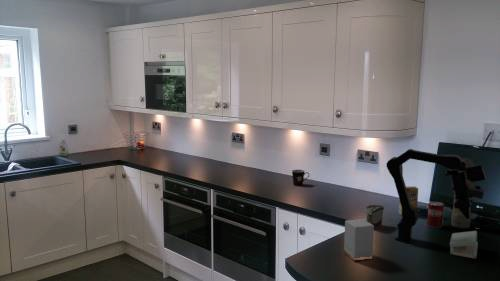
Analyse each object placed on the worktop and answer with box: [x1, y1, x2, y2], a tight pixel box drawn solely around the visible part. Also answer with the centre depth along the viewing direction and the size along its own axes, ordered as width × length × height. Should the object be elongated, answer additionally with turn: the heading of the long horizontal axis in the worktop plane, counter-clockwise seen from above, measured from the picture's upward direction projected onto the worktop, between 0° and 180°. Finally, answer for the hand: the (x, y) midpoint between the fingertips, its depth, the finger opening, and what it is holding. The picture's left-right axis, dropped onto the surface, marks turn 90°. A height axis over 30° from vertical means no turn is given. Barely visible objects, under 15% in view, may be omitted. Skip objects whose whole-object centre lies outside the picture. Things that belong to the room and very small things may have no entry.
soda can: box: [426, 201, 445, 229], centre depth 219 cm, size 7×7×12 cm
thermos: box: [450, 157, 476, 229], centre depth 218 cm, size 9×12×35 cm
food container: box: [364, 204, 385, 229], centre depth 219 cm, size 12×6×10 cm, turn 134°
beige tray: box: [449, 241, 479, 260], centre depth 189 cm, size 10×13×3 cm
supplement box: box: [343, 218, 375, 258], centre depth 182 cm, size 9×9×15 cm
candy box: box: [398, 186, 419, 216], centre depth 237 cm, size 9×4×15 cm, turn 92°
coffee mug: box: [291, 169, 310, 187], centre depth 299 cm, size 12×9×10 cm
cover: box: [449, 230, 478, 248], centre depth 188 cm, size 10×14×2 cm
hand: (468, 218), depth 186 cm, fingers closed
